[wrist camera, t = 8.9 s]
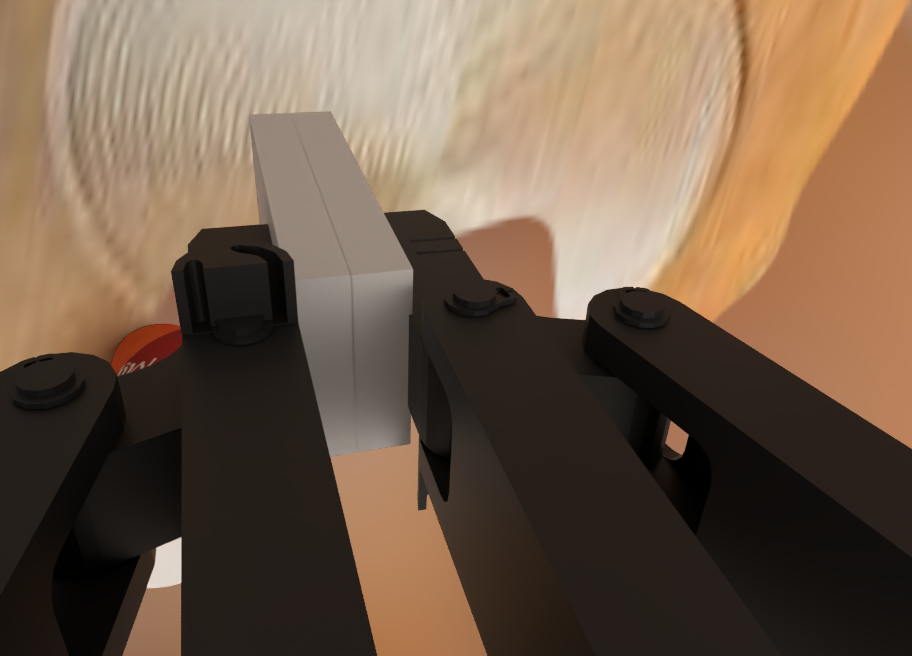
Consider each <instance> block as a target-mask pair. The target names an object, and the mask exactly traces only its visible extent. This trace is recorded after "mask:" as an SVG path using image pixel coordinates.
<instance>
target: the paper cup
mask: <svg viewBox="0 0 912 656" xmlns="http://www.w3.org/2000/svg"><path fill="white" fill-rule="evenodd" d="M181 345H182V333H181V327H180V326H177V325H171V324H155V325H149V326H146V327H143V328H140V329H138V330H136V331H134V332H132V333H131V334H129V335H128V336H127V337H126V338H125V339H124V340H123V341H122V342H121V343H120V345H119V346H118V348H117V350H116V352H115V354H114V357H113V360H112V363H111V366H112V367H113V369H114V371H115V372H116V374H117V376H120V375H123V374H127V373H130V372H133V371H137V370H139V369H142V368H145V367H147V366H150V365H153V364H155V363H157V362H159V361H161V360H162V359H164V358H166V357H168V356H169V355H171V354H172V353H173V352H174V351H175V350H177V349H178V348H179V347H180V346H181ZM180 583H181V537H180V538H178V539H176V540H173V541H171V542H169V543H166V544H164V545H162V546H159V547H157V548H156V558H155V565H154V568H153V571H152V574H151V577H150V579H149V582H148V585H147V588H159V587H166V586H172V585H175V584H180Z"/></svg>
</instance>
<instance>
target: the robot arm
mask: <svg viewBox="0 0 912 656" xmlns="http://www.w3.org/2000/svg"><path fill="white" fill-rule="evenodd" d="M249 119H250V129H251V139H252V150H253V160H254V170H255V181H256V191H257V201H258V211H259V222H260V225H249V226H236V227H223V228H209V229H202V230H201V231H200V232H199V233H198V234H197V235H196V236H195V237H194V239H193V240H192V241H191V242H190V243H189V244H188V253H187V254H185V255H184V256H182V257H181V258H179V259H178V260H177V261H176V262H175V264H174V267H173V269H172V271H171V274H172V280H173V286H174V292H175V298H176V303H177V309H178V315H179V321H180V327H181V333H182V345H181V346H180V347H179V348H178V349H177V350H175V351H174V352H173V353H172V354H171V355H169V356H168V357H166V358H164V359H162V360H161V361H159V362H157V363H155V364H153V365H150V366H147V367H145V368H142V369H139V370H137V371H133V372H130V373H127V374H123V375H120V376H117V374H116V372H115V371H114V369H113V367H112V366H111V364H110V363H109V362H107V361H105V360H103V359H101V358H99V357H97V356H95V355H89V354H81V353H73V352H70V353H59V354H46V355H41V356H38V357H36V358H34V357H33V358H30V359H27V360H24V361H21V362H19V363H17V364H15V365H13V366H11V367H9V368H7V369H5V370H3V371H1V372H0V656H122V655H123V652H124V649H125V647H126V644H127V641H128V638H129V635H130V633H131V630H132V627H133V624H134V621H135V618H136V616H137V613H138V610H139V607H140V604H141V602H142V599H143V596H144V593H145V591H146V588H147V585H148V582H149V579H150V577H151V574H152V571H153V568H154V565H155V558H156V548H157V547H159V546H162V545H164V544H166V543H169V542H171V541H173V540H176V539H178V538H180V537H181V656H377V653H376V649H375V645H374V640H373V636H372V632H371V628H370V623H369V619H368V615H367V611H366V606H365V602H364V599H363V594H362V590H361V585H360V581H359V577H358V573H357V568H356V564H355V560H354V556H353V552H352V547H351V543H350V539H349V535H348V530H347V526H346V522H345V518H344V513H343V509H342V505H341V501H340V497H339V493H338V488H337V484H336V480H335V475H334V471H333V467H332V463H331V458H330V456H337V455H343V454H350V453H356V452H362V451H369V450H375V449H381V448H387V447H394V446H401V445H407V444H410V429H411V428H410V426H411V425H410V423H411V415H412V418H413V420H414V423H415V426H416V428H417V431H418V433H419V457H418V510H424V509H426V501H427V500H426V499H427V495H428V494H429V496H430V499H431V502H432V504H433V507H434V510H435V513H436V515H437V518H438V521H439V524H440V526H441V529H442V532H443V535H444V537H445V540H446V543H447V545H448V548H449V551H450V554H451V557H452V559H453V562H454V565H455V568H456V570H457V573H458V576H459V578H460V581H461V584H462V587H463V589H464V592H465V595H466V598H467V600H468V603H469V606H470V609H471V612H472V614H473V617H474V620H475V622H476V625H477V628H478V631H479V633H480V636H481V639H482V641H483V645H484V647H485V650H486V653H487V656H912V449H911V448H909V447H908V446H906V445H904V444H903V443H901V442H900V441H898V440H897V439H895V438H893V437H892V436H890V435H889V434H887V433H885V432H884V431H882V430H881V429H879V428H878V427H876V426H874V425H873V424H871V423H870V422H868V421H866V420H865V419H863V418H862V417H860V416H859V415H857V414H856V413H854V412H852V411H851V410H849V409H848V408H846V407H845V406H843V405H841V404H840V403H838V402H837V401H835V400H834V399H832V398H830V397H829V396H827V395H825V394H824V393H822V392H821V391H819V390H818V389H816V388H814V387H813V386H811V385H810V384H808V383H807V382H805V381H804V380H802V379H800V378H799V377H797V376H796V375H794V374H792V373H791V372H789V371H788V370H786V369H785V368H783V367H782V366H780V365H778V364H777V363H775V362H774V361H772V360H770V359H769V358H767V357H766V356H764V355H763V354H761V353H759V352H758V351H756V350H755V349H753V348H752V347H750V346H748V345H747V344H745V343H744V342H742V341H740V340H739V339H737V338H736V337H734V336H733V335H731V334H729V333H728V332H726V331H725V330H723V329H722V328H720V327H718V326H717V325H715V324H714V323H712V322H711V321H709V320H707V319H706V318H704V317H703V316H701V315H700V314H698V313H696V312H695V311H693V310H692V309H690V308H689V307H687V306H685V305H684V304H682V303H681V302H679V301H677V300H675V299H673V298H671V297H668V296H666V295H664V294H661V293H658V292H654V291H650V290H649V289H646V288H639V287H636V288H634V287H623V288H618V289H610V290H606V291H604V292H601V293H599V294H597V295H595V296H594V297H593V298H592V300H591V301H590V302H589V304H588V308H587V315H586V320H574V319H560V318H548V317H541V316H536V315H535V313H534V312H533V311H532V309H531V308H530V306H529V305H528V304H527V302H526V301H525V300H524V298H523V297H522V296H521V295H519V294H518V293H517V292H516V291H515V290H514V289H513V288H510V287H508V286H506V285H503V284H501V283H499V282H495V281H490V280H484V279H483V278H482V276H481V275H480V273H479V272H478V270H477V269H476V267H475V266H474V264H473V263H472V261H471V260H470V258H469V257H468V255H467V254H466V252H465V251H463V248H462V246H461V245H460V243H459V242H458V240H457V239H455V236H454V234H453V233H452V231H451V230H450V228H449V227H448V225H447V224H446V222H445V221H443V220H441V219H440V218H438V217H436V216H434V215H433V214H431V213H429V212H427V211H426V210H415V211H402V212H389V213H383V211H382V209H381V207H380V205H379V203H378V201H377V199H376V197H375V195H374V194H373V192H372V190H371V188H370V186H369V184H368V182H367V180H366V178H365V176H364V174H363V172H362V171H361V169H360V167H359V165H358V163H357V161H356V159H355V157H354V155H353V153H352V151H351V150H350V148H349V146H348V144H347V142H346V140H345V138H344V136H343V134H342V132H341V130H340V129H339V127H338V125H337V123H336V121H335V119H334V117H333V115H332V113H331V112H307V113H282V114H257V115H249ZM670 421H672V422H674V423H675V424H676V425H677V426H679V427H680V428H681V429H682V430H684V431H685V432H686V433H687V434H689V437H688V440H687V445H686V448H685V451H684V453H683V455H680V454H679V453H677V452H675V451H674V450H672V449H671V448H670V447H669V446H668V445H666V444H665V442H666V438H667V434H668V429H669V426H670Z"/></svg>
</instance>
